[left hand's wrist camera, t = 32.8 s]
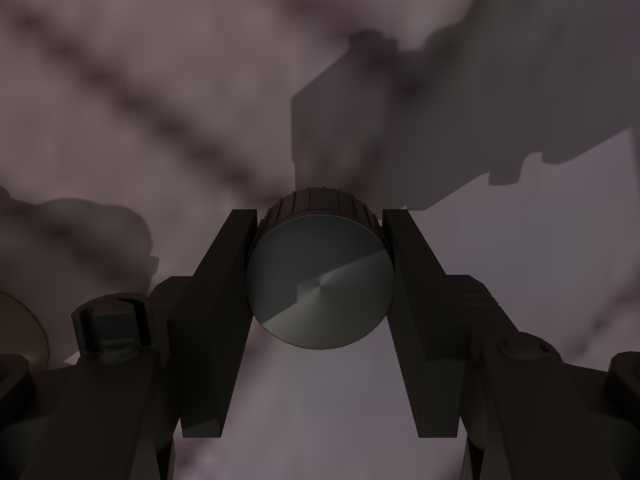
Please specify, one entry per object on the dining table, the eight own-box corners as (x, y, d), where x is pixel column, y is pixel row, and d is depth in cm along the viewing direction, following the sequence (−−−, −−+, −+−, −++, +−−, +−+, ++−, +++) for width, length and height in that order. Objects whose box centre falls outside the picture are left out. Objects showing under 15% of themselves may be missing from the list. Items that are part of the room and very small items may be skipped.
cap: (410, 234, 14) (430, 270, 12) (333, 325, 15) (335, 375, 13) (304, 157, 13) (300, 179, 11) (230, 261, 14) (212, 301, 12)
